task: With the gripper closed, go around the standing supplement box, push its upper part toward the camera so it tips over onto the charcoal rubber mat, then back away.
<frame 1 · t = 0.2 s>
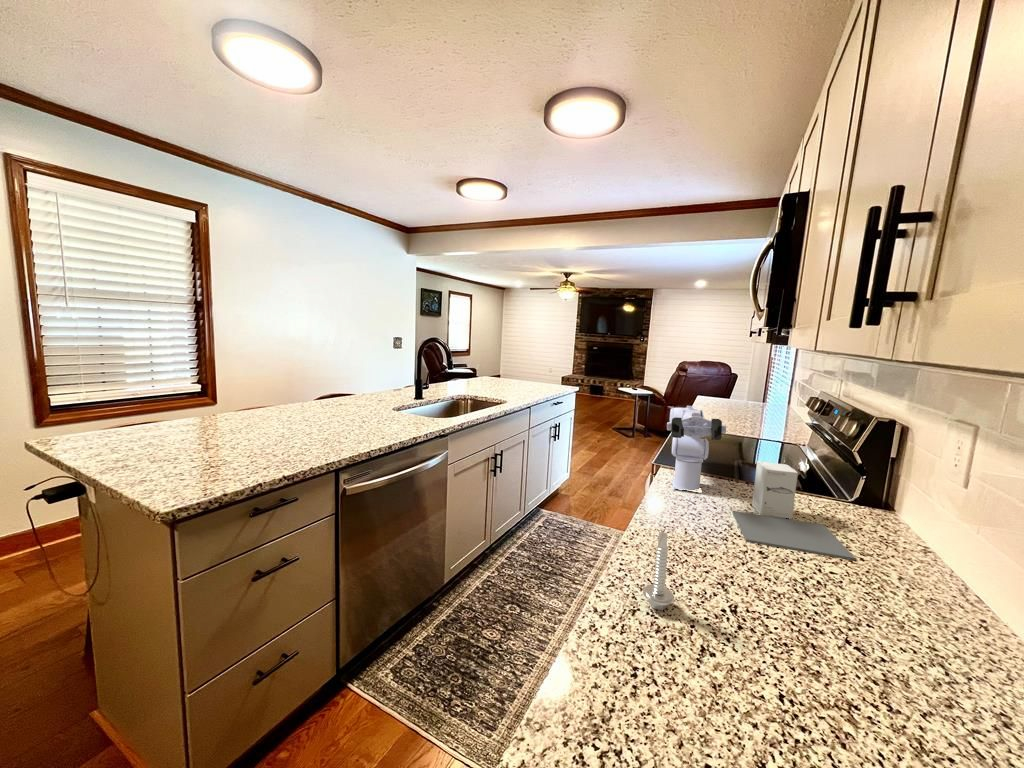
hand: (698, 433, 99), 21 cm above the countertop, tool horizontal, fingers open, 7 cm apart
mat: (786, 533, 92), on the countertop
screw: (657, 606, 66), on the countertop
supplement box: (771, 512, 104), on the countertop
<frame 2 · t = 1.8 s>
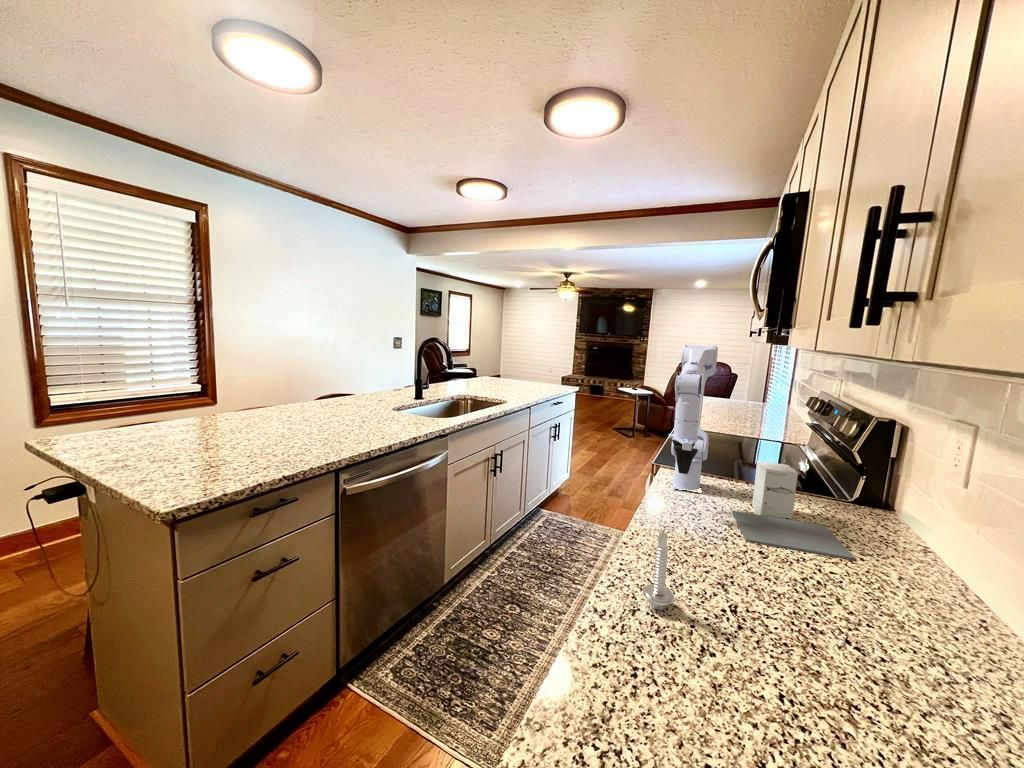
hand: (682, 470, 104), 10 cm above the countertop, tool pointing down, fingers open, 5 cm apart
nothing on the countertop moved.
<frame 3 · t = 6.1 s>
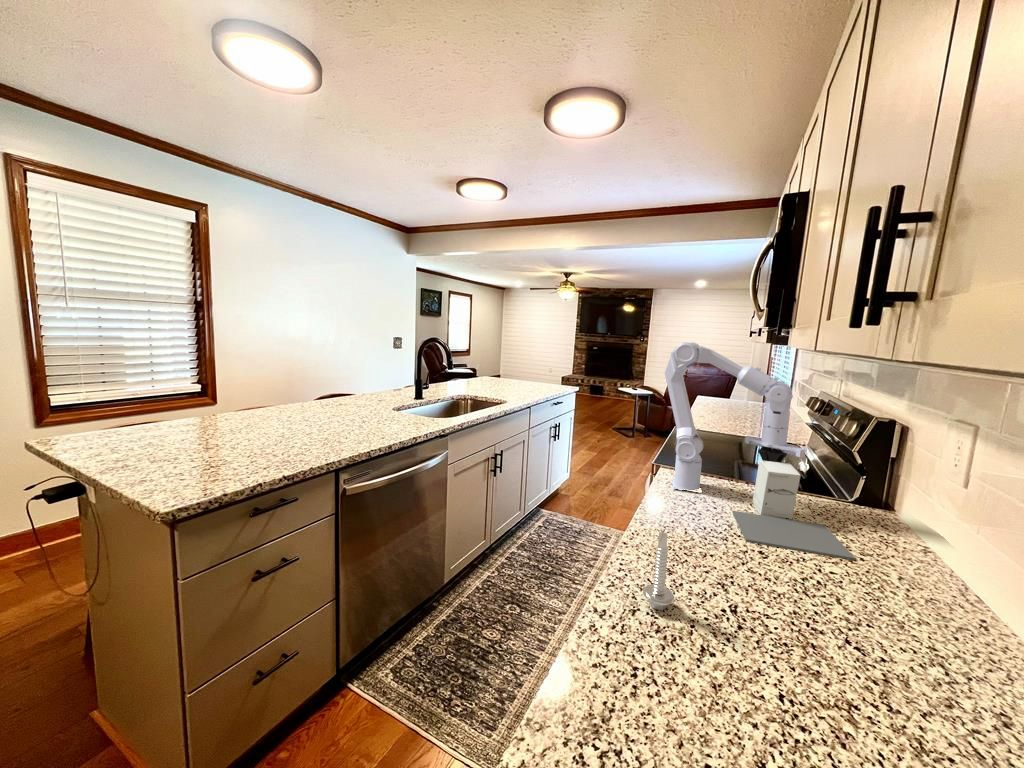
hand: (770, 475, 107), 9 cm above the countertop, tool pointing down, fingers closed
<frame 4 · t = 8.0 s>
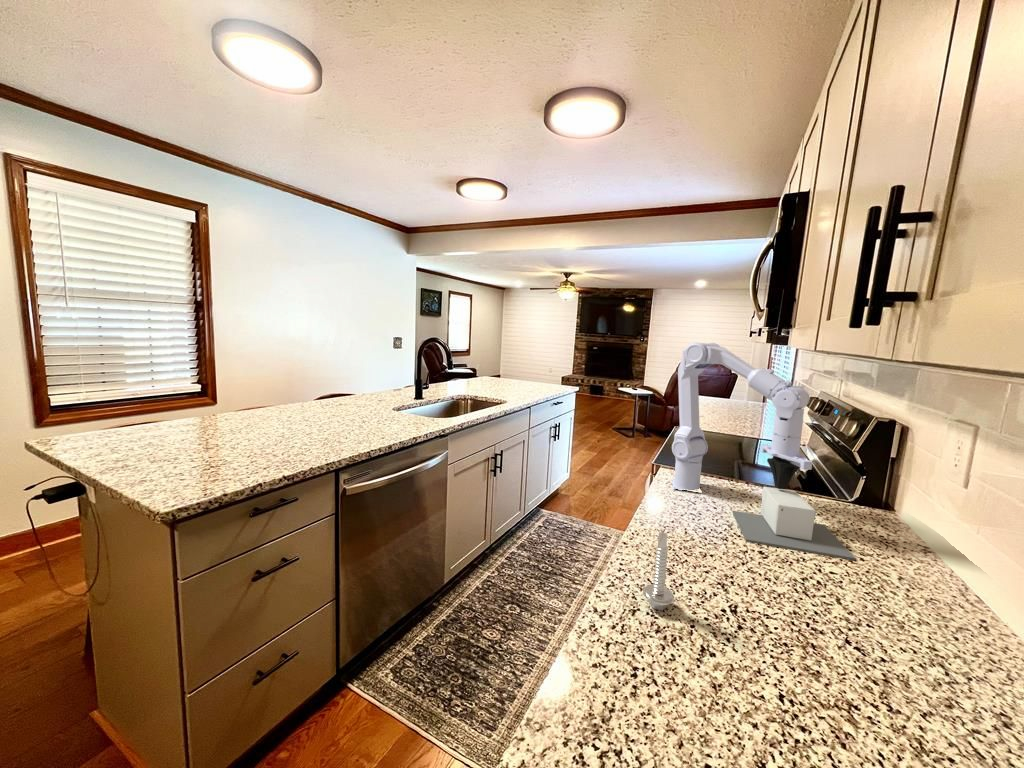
hand: (780, 488, 98), 8 cm above the countertop, tool pointing down, fingers closed
supplement box: (777, 501, 101), point 4 cm above the countertop, touching mat
everything else where it was.
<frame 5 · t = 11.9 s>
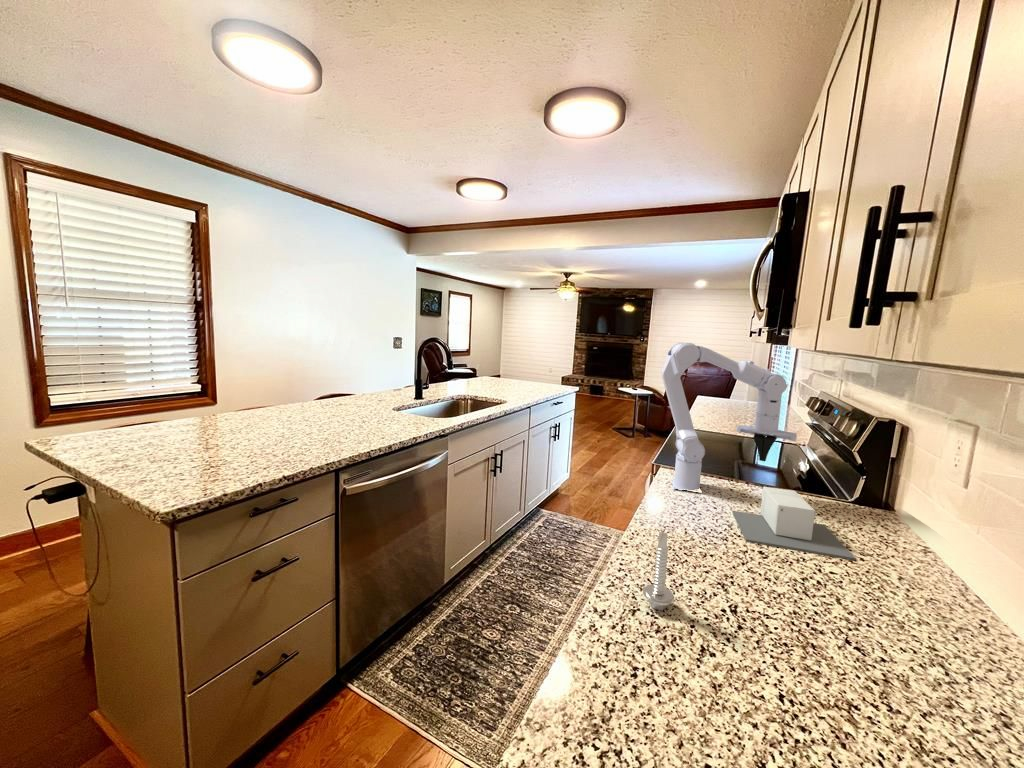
hand: (762, 460, 115), 10 cm above the countertop, tool pointing down, fingers closed
nothing on the countertop moved.
at the end: supplement box tilted 89°; supplement box touching mat; supplement box inside the target area (6.9 cm from its centre), point 4.1 cm above the countertop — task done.
